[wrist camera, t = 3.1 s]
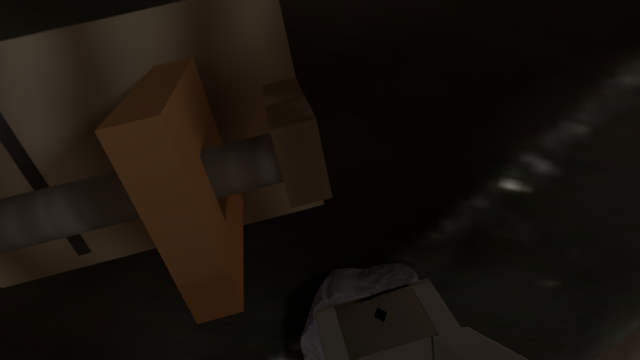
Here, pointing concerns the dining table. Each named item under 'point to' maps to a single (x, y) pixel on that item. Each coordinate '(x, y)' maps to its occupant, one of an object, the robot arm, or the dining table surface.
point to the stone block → (350, 295)
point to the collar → (179, 186)
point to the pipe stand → (106, 94)
